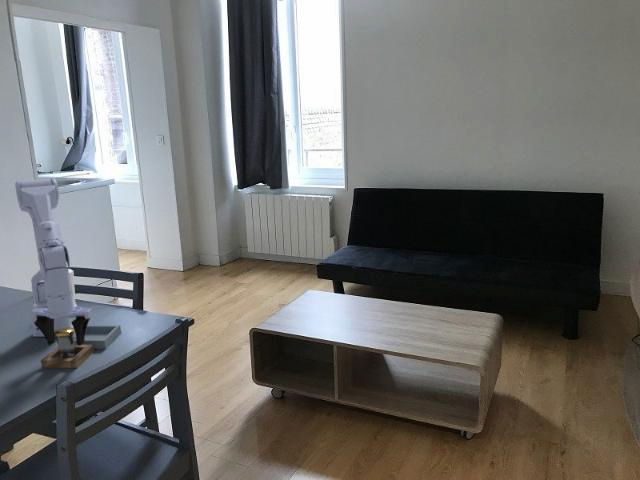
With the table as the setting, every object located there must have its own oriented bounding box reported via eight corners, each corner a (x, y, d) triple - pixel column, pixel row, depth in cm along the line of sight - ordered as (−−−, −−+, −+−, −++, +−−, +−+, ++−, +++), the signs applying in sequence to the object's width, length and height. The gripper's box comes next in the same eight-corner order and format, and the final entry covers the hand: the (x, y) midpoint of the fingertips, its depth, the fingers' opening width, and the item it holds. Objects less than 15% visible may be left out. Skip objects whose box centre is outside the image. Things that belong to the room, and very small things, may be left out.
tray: (69, 348, 142) (68, 340, 141) (87, 333, 151) (86, 325, 151) (105, 349, 141) (104, 340, 141) (121, 333, 151) (120, 325, 150)
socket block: (42, 367, 132) (40, 360, 131) (60, 351, 140) (59, 344, 140) (77, 368, 131) (76, 360, 131) (94, 351, 140) (93, 344, 139)
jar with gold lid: (55, 363, 134) (50, 334, 132) (64, 355, 138) (60, 327, 136) (73, 363, 133) (68, 334, 131) (81, 355, 138) (77, 327, 136)
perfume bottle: (65, 305, 173) (59, 261, 169) (79, 305, 173) (73, 261, 169) (60, 311, 168) (53, 266, 164) (74, 310, 168) (68, 265, 165)
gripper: (21, 299, 128) (29, 350, 131) (79, 299, 127) (86, 350, 130) (37, 289, 135) (45, 338, 138) (93, 289, 134) (99, 338, 137)
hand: (66, 343), depth 135 cm, fingers open, 7 cm apart
